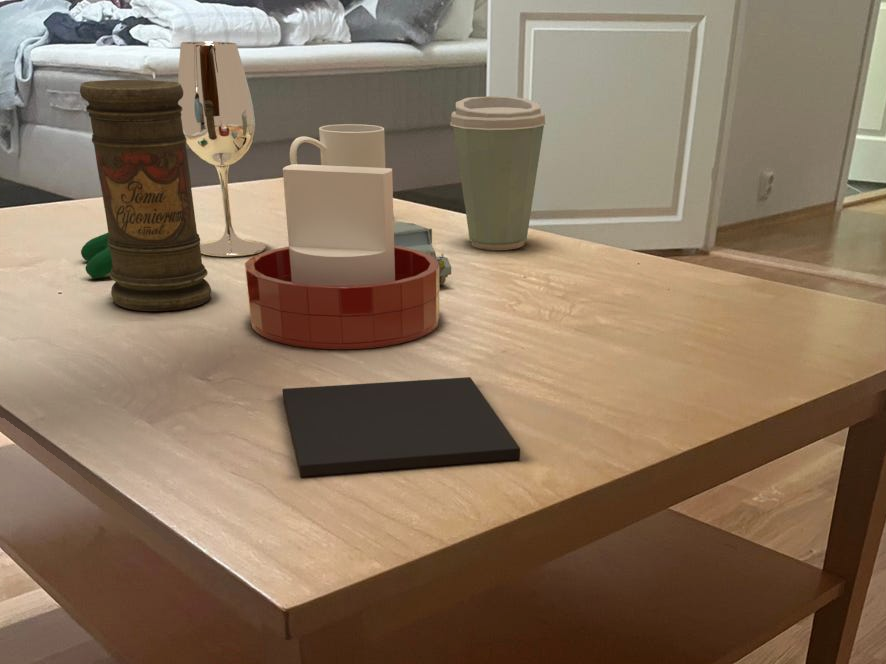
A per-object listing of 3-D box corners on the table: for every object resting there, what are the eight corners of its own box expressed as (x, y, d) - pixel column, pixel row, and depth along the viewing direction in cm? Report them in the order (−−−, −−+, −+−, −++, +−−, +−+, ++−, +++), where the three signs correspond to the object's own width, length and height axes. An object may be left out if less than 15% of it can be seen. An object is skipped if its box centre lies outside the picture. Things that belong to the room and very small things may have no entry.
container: (109, 291, 97) (72, 78, 87) (204, 284, 99) (178, 77, 90) (116, 316, 90) (75, 88, 80) (218, 308, 92) (191, 86, 83)
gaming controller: (115, 297, 101) (152, 251, 100) (82, 271, 99) (120, 224, 98) (108, 276, 108) (142, 233, 108) (77, 251, 106) (112, 207, 105)
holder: (300, 477, 62) (299, 465, 61) (283, 399, 73) (282, 388, 72) (520, 459, 64) (520, 448, 64) (470, 386, 76) (470, 376, 75)
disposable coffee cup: (553, 252, 114) (561, 104, 106) (462, 257, 111) (463, 105, 103) (524, 233, 122) (529, 94, 114) (439, 237, 120) (438, 95, 112)
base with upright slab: (405, 304, 93) (402, 163, 86) (383, 332, 85) (378, 180, 79) (311, 299, 94) (301, 158, 87) (281, 326, 86) (267, 175, 80)
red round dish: (256, 354, 81) (250, 291, 79) (246, 300, 95) (241, 245, 92) (456, 343, 85) (456, 283, 82) (419, 293, 98) (418, 239, 96)
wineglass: (193, 243, 114) (166, 40, 104) (262, 240, 116) (243, 41, 106) (198, 259, 108) (170, 44, 97) (271, 255, 110) (252, 45, 99)
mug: (369, 211, 132) (365, 122, 126) (398, 222, 127) (396, 130, 121) (283, 220, 126) (275, 127, 121) (310, 231, 121) (303, 135, 115)
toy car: (414, 293, 98) (413, 241, 95) (364, 272, 105) (362, 222, 102) (469, 285, 101) (469, 234, 99) (417, 264, 108) (416, 216, 105)
